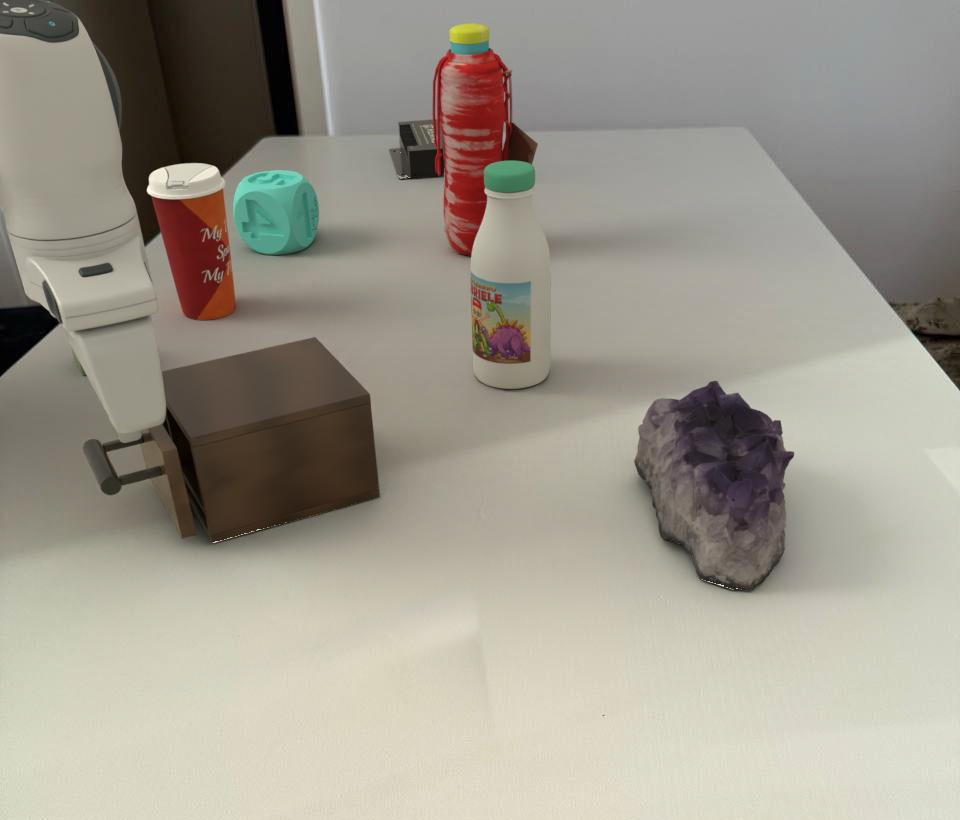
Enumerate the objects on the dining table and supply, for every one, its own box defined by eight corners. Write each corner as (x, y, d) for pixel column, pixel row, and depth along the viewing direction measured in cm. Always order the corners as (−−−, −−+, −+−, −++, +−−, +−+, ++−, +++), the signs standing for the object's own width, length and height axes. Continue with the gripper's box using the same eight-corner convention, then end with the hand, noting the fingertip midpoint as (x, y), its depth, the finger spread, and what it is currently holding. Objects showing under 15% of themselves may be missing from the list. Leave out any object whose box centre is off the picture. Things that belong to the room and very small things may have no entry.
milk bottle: (511, 350, 118) (508, 148, 105) (566, 372, 114) (570, 164, 101) (457, 375, 114) (448, 168, 101) (512, 398, 109) (510, 185, 97)
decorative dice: (295, 257, 141) (286, 191, 136) (238, 252, 143) (227, 187, 138) (322, 236, 147) (315, 172, 142) (267, 231, 149) (258, 167, 144)
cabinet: (212, 544, 91) (190, 438, 85) (172, 474, 100) (149, 373, 94) (380, 497, 96) (370, 393, 90) (327, 434, 105) (315, 336, 99)
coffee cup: (238, 323, 126) (214, 183, 116) (165, 325, 126) (135, 186, 116) (251, 294, 132) (230, 159, 123) (181, 295, 132) (154, 161, 123)
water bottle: (531, 234, 145) (531, 14, 129) (539, 256, 139) (540, 28, 123) (437, 239, 144) (426, 19, 129) (441, 262, 138) (429, 33, 123)
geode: (837, 586, 84) (844, 474, 78) (683, 614, 85) (677, 505, 78) (759, 444, 100) (759, 340, 93) (629, 468, 100) (620, 367, 93)
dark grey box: (388, 149, 177) (379, 26, 166) (477, 142, 178) (473, 20, 167) (401, 188, 161) (391, 55, 150) (498, 180, 163) (495, 48, 152)
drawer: (121, 555, 89) (97, 468, 84) (91, 489, 97) (68, 406, 92) (340, 495, 95) (329, 410, 90) (295, 437, 103) (283, 357, 98)
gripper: (14, 226, 87) (62, 391, 96) (64, 318, 72) (115, 503, 81) (96, 211, 89) (136, 374, 98) (161, 297, 75) (201, 480, 83)
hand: (127, 434), depth 89 cm, fingers closed
